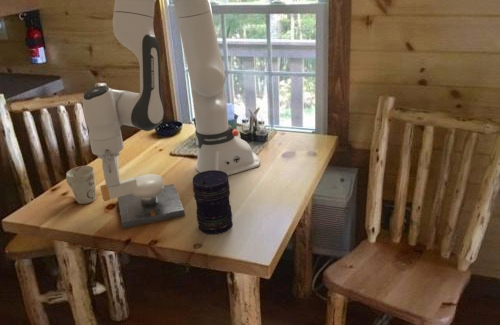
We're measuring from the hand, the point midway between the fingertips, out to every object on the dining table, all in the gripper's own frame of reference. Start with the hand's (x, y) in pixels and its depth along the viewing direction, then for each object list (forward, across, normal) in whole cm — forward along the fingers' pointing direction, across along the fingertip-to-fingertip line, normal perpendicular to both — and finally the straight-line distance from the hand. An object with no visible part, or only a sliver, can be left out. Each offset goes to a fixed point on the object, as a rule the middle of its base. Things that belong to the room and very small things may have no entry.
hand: (115, 187), depth 147 cm
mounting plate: (+9, 0, -9) cm, 12 cm away
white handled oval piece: (+3, -1, -5) cm, 6 cm away
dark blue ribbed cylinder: (+9, -18, -26) cm, 32 cm away
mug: (+9, +14, +12) cm, 21 cm away
